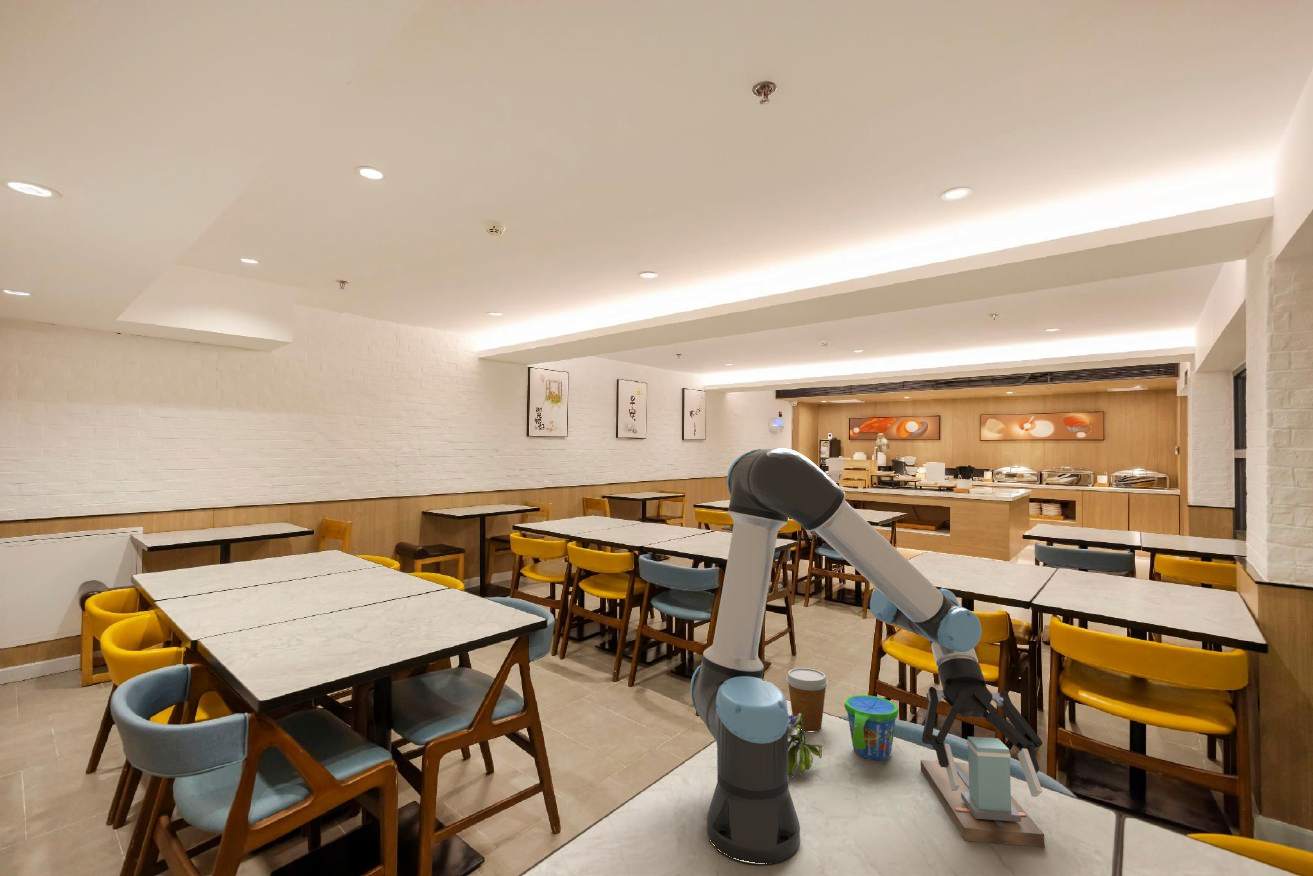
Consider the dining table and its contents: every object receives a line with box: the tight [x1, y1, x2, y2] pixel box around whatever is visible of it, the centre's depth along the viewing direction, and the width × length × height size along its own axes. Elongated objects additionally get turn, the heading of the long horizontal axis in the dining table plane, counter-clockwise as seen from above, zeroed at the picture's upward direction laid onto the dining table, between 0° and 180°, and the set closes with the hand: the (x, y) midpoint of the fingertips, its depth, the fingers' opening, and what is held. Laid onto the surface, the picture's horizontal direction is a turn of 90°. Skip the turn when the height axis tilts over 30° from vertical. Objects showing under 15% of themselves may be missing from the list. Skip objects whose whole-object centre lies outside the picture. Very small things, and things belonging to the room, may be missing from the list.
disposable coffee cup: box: [785, 667, 829, 732], centre depth 134 cm, size 10×10×12 cm
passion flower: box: [788, 713, 823, 778], centre depth 117 cm, size 11×11×12 cm
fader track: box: [920, 759, 1046, 848], centre depth 103 cm, size 12×22×2 cm, turn 172°
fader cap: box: [961, 736, 1021, 822], centre depth 97 cm, size 7×6×11 cm
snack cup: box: [844, 694, 899, 761], centre depth 122 cm, size 16×10×10 cm
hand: (996, 791), depth 95 cm, fingers open, 12 cm apart
